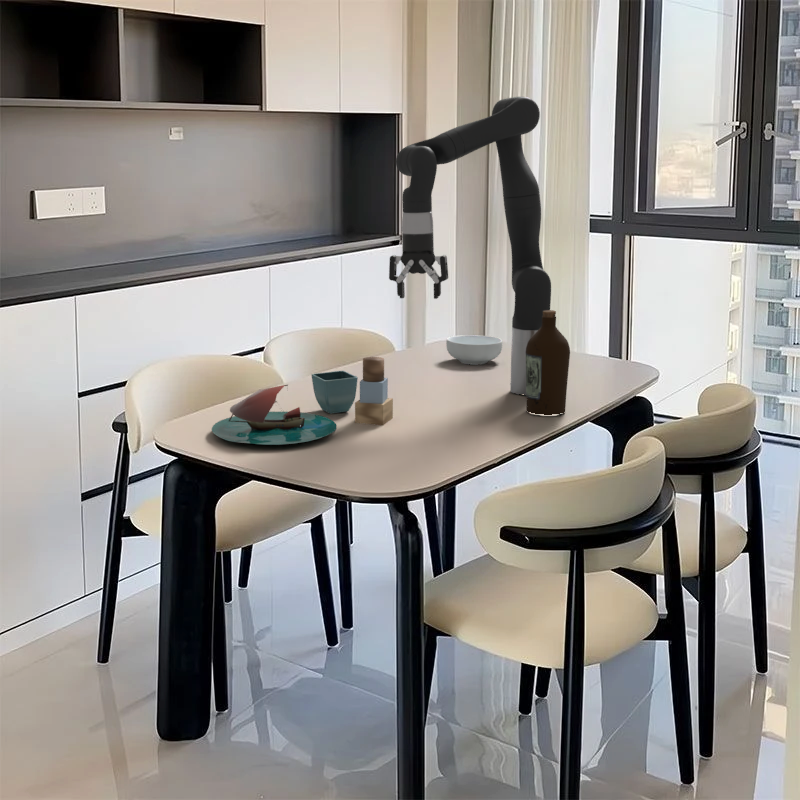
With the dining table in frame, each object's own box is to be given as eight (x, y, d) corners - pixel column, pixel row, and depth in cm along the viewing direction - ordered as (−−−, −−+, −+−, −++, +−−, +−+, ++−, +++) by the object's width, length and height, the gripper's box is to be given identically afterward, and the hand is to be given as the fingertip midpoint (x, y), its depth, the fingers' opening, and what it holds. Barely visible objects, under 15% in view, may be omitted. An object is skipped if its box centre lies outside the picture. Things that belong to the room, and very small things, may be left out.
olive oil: (553, 405, 276) (556, 306, 270) (575, 415, 266) (580, 312, 260) (515, 409, 272) (518, 309, 266) (537, 419, 262) (541, 315, 256)
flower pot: (325, 417, 264) (325, 380, 262) (311, 409, 271) (310, 373, 269) (358, 413, 268) (358, 377, 265) (343, 405, 275) (343, 370, 273)
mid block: (387, 398, 262) (387, 377, 260) (382, 403, 256) (382, 382, 255) (365, 397, 263) (365, 376, 262) (359, 402, 257) (359, 381, 256)
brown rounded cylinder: (386, 378, 260) (386, 357, 259) (380, 382, 255) (380, 361, 254) (366, 377, 261) (366, 356, 260) (360, 381, 257) (360, 360, 255)
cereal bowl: (504, 368, 320) (504, 344, 319) (446, 367, 321) (447, 344, 319) (499, 357, 337) (500, 334, 335) (445, 356, 337) (445, 333, 335)
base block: (392, 418, 263) (392, 398, 262) (383, 425, 256) (383, 404, 255) (365, 416, 265) (365, 396, 264) (355, 423, 258) (355, 402, 257)
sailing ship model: (199, 425, 256) (197, 378, 253) (313, 413, 266) (312, 368, 264) (230, 457, 231) (228, 405, 228) (354, 443, 241) (354, 393, 239)
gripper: (449, 229, 266) (450, 296, 270) (393, 229, 270) (394, 295, 274) (443, 232, 259) (444, 300, 263) (385, 232, 263) (386, 300, 267)
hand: (419, 298), depth 268 cm, fingers open, 8 cm apart
